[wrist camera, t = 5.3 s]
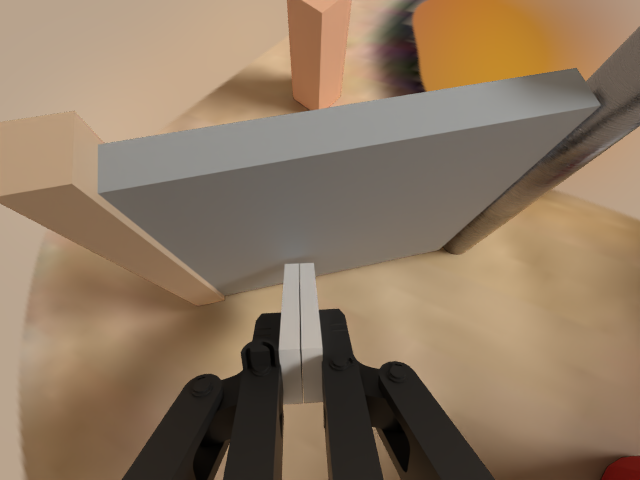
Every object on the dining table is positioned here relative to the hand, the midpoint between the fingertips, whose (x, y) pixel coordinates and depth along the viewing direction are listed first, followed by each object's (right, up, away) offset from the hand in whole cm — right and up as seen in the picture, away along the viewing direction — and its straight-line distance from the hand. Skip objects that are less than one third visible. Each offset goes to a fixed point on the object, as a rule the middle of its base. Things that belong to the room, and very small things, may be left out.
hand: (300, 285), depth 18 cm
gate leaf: (+1, +1, +5) cm, 5 cm away
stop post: (+1, +15, +11) cm, 19 cm away
